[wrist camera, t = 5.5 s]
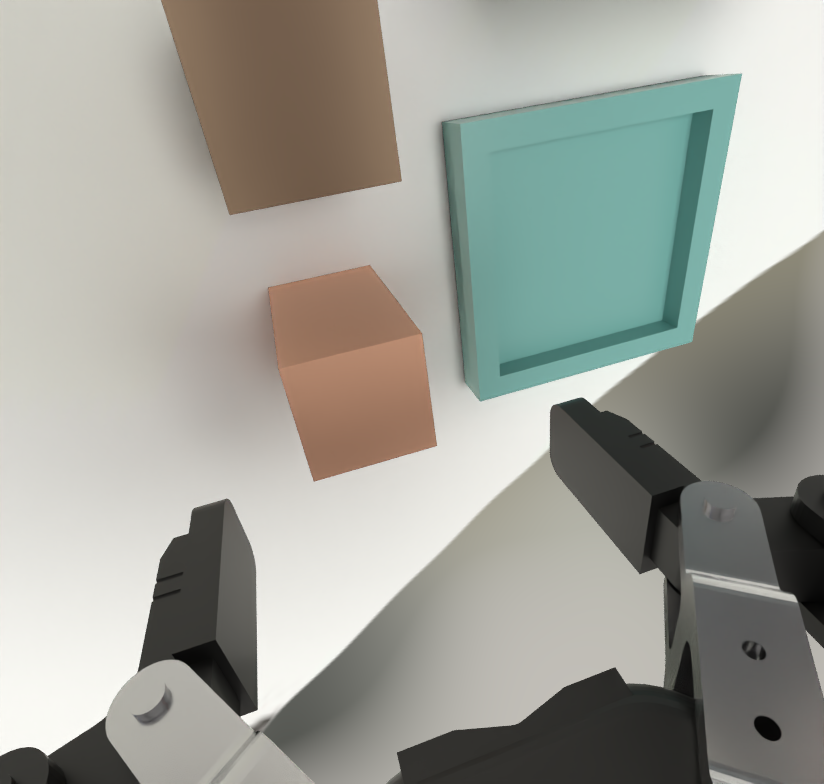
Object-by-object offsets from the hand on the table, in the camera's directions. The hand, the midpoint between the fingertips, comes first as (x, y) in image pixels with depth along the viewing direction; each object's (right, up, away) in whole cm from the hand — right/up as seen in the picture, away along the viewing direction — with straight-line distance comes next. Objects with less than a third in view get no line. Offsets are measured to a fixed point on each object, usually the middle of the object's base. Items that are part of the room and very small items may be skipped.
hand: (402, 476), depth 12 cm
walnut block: (-4, +12, +4) cm, 13 cm away
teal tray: (+7, +8, +10) cm, 15 cm away
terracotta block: (-3, +5, +8) cm, 10 cm away
